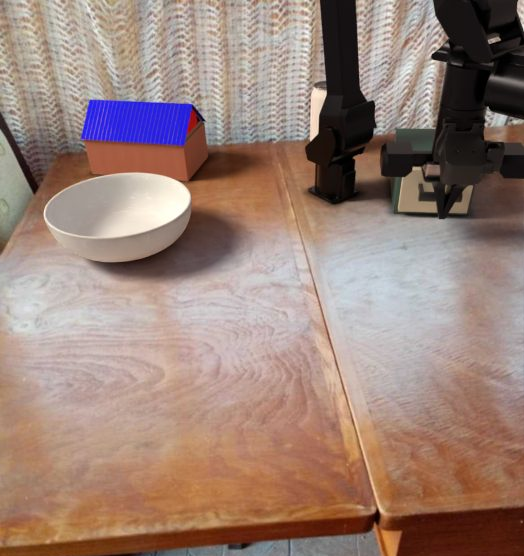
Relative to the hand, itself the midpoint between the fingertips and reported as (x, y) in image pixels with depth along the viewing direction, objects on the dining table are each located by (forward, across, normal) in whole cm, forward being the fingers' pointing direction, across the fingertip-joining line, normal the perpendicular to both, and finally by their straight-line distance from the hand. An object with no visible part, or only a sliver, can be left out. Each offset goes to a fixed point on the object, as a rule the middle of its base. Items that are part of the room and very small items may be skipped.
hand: (441, 218), depth 77 cm
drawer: (+2, 0, +11) cm, 11 cm away
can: (+3, -18, +34) cm, 38 cm away
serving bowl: (+3, -46, -4) cm, 47 cm away
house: (+3, -51, +25) cm, 57 cm away
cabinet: (+3, 0, +15) cm, 15 cm away
